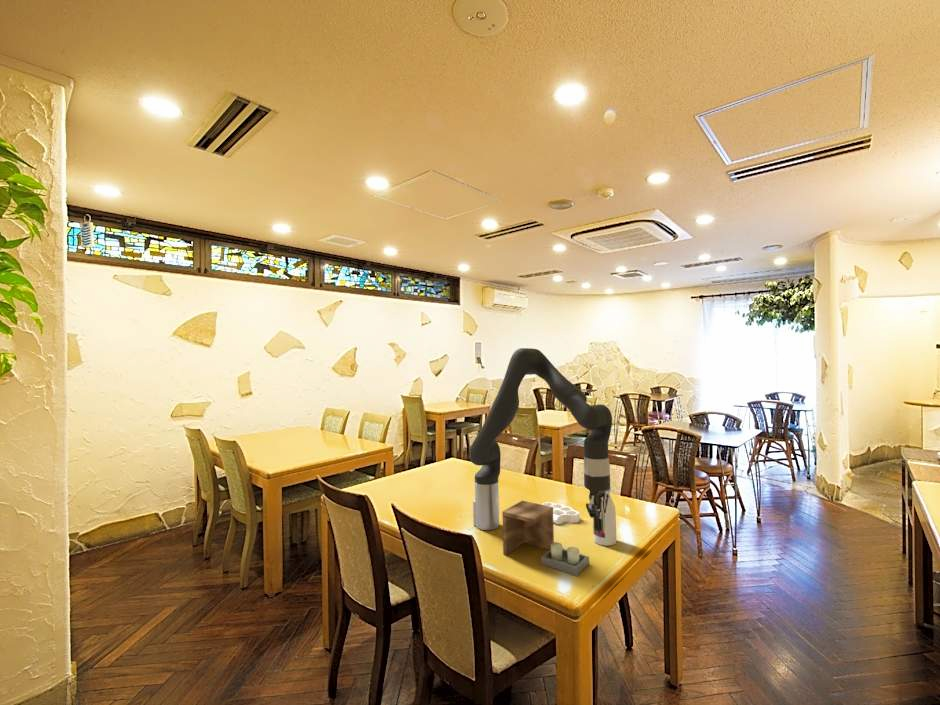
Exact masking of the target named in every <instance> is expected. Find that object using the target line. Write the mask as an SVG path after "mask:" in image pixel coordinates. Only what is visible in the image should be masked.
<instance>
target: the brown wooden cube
mask: <svg viewBox="0 0 940 705" xmlns="http://www.w3.org/2000/svg"><path fill="white" fill-rule="evenodd" d="M554 535H555V533H554V523H553V507H550V506H545V505H542V503H540V504H539V503H535V502H532V501H528V500H527V501H526V500H521V501H519V502H517V503H515V504H514V505H512V506H510V507H508V508H507V509H505V510H502V547H503V548H502V553H503V555H504V556H508V555H509V554H511V553H512V552H513V551H515V550H516V549H518V548H519V547H520V546H522V545H523V544H528V545H532V546H534V547H535V546H536V547H539V548H542V549H545V550H548V551H549V550H551V543H553V542H555V539H554V538H555V537H554Z"/></svg>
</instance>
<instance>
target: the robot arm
mask: <svg viewBox="0 0 940 705" xmlns="http://www.w3.org/2000/svg"><path fill="white" fill-rule="evenodd" d="M527 375H535V376H538V377H539V378H541V379H542V380H544V381H545V383H546V384H547V385H548V387H549V390H550V391H551V393H552V396H554V398H555V399H556V400H557V401H558V402H560V403H561V405H563V406H564V407H565V408H566V409H568V411H569V412H570V414H571V415H572V416H573V418H574V420H575V421H576V422H577V424H578V425H580V427H583V429H586V430H587V431H590V433H589V435H588V436H587V437H585V439H584V440H583V456H584V458H583V482H584V484H583V485H584V488H586V489H587V490H588V491H589V494H588V501H589V503H587V502H586V503H585V507H586V510H587V512H588V514H589V517H590V518H592V519H593V518H594V530H596V531H602V530H603V518H602V517H604V513H606V508H607V503H608V498H609V494H605V491H606V490H609V489H610V490H611V464H610V458H609V457H610V456H609V441H610V440H609V439H610V436H611V433H612V432H611V431H612V428H613V427H612V426H613V415H612V411H611V410H610V408H609V407H608V406H606V405H604V404H601V403H600V404H599V403H598V404H593V405H590V404H589V403H588V402H587V401H588V398H587V395H586V394H585V393H584V392H583V391H582V390H581V389H579V387H577V386H576V385H575V384H574V383H573V382H571V381H569V380H568V378H566V376H564V375H563V374H562V373H561V371H559V370H558V369H557V368H556V366H555V365H554V364H553V363H551V361H550V360H549V359H548V357H547V356H546V355H545V354H544V353H543V352H542V351H541V350H539V349H537V348H533V347H532V348H529V347H528V348H523V347H521V348H517V349H516V350H515V351H513V353H512V355H511V357H510V359H509V363H508V365H507V368H506V371H505V373H504V376H503V380H502V383H501V385H500V386H499V387H500V388H499V390H498V391H497V395H496V397H495V398H494V400H493V402H492V405H491V407H490V409H489V411H488V415H487V416H486V419H485V420H484V422H483V424H482V427H481V428H480V430H479V431H478V433H477V436H476V437H475V439H474V440H473V442H472V444H471V446H470V447H469V448H470V449H469V459H470V461H471V463H472V464H473V465H475V466H481V468H480V469H479V470H478V471H477V472H476V473H475V474H474V500H473V501H472V511H473V513H472V516H473V526H475V527H476V528H477V529H479V530H483V531H492V530H493V531H494V530H496V529H498V528H499V527H500V501H499V500H500V495H499V493H500V492H499V489H500V488H499V478H500V473H501V459H502V458H501V448H500V445H499V443H498V442H497V441H496V439H497V438H498V437H499V436H500V435H501V434H502V433H503V432H504V431H505V430H506V429H507V428H508V427H509V426H510V425H511V424H512V422H513V421H514V419H515V416H516V414H517V412H518V409H519V407H520V397H519V388H520V386H521V384H522V382H523V379H524V378H525V376H527Z"/></svg>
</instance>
